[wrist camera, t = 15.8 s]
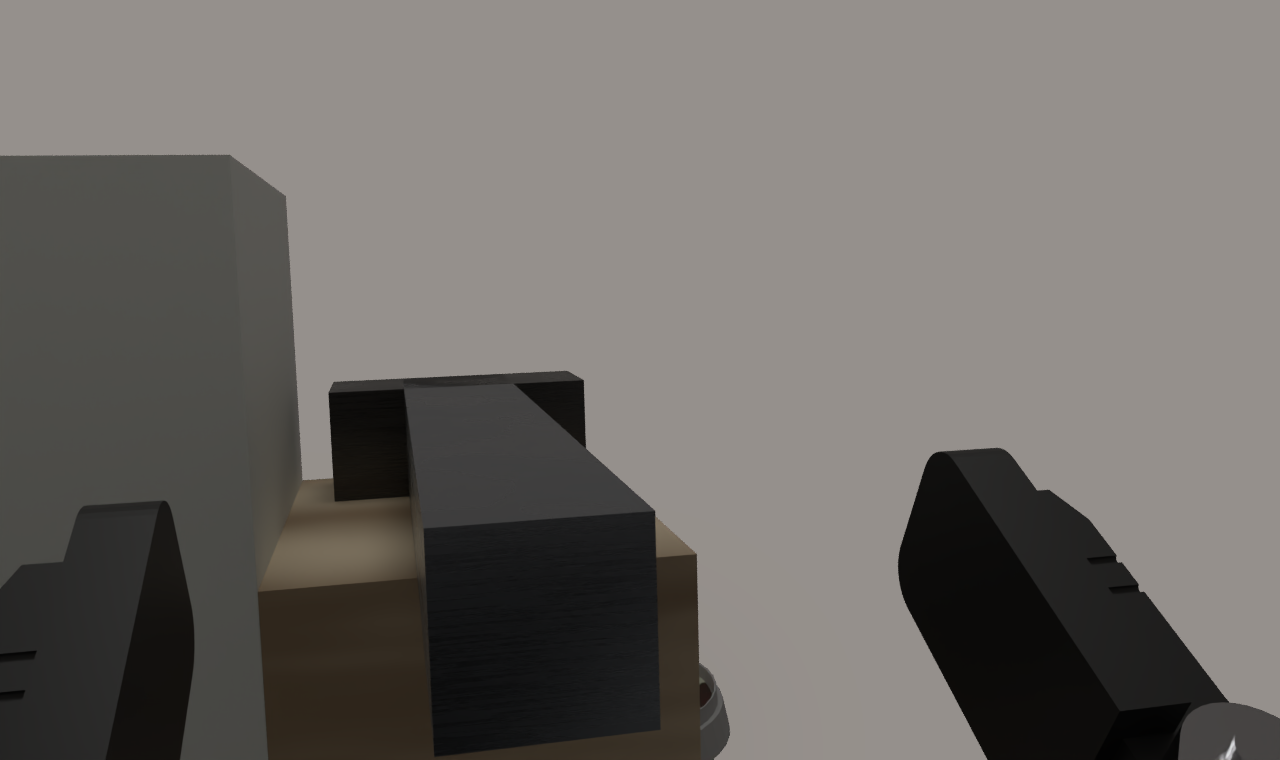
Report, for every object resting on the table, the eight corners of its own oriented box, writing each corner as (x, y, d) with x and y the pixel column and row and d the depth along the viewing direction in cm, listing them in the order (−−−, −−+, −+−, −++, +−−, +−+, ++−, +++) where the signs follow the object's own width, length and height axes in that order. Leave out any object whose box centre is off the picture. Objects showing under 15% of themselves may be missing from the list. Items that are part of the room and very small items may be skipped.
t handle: (339, 481, 33) (333, 382, 33) (570, 466, 35) (567, 370, 34) (271, 775, 14) (256, 540, 14) (801, 712, 15) (798, 500, 15)
